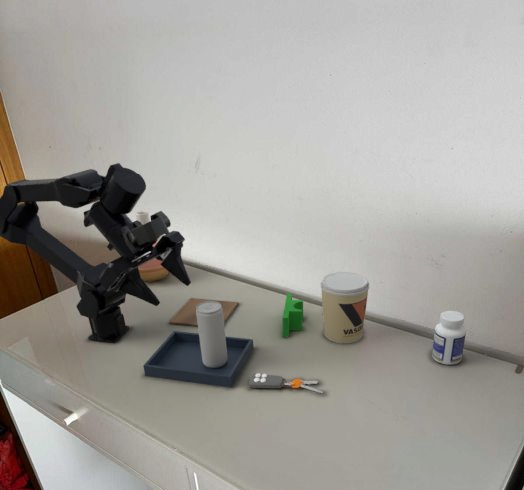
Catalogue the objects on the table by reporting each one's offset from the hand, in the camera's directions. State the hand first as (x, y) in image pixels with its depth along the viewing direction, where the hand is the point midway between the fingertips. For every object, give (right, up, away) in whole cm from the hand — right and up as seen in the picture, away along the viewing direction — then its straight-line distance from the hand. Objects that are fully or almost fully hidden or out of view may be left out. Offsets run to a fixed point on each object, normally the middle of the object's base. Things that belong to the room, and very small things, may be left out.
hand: (174, 294), depth 92 cm
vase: (-13, +8, +42) cm, 44 cm away
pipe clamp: (+23, -5, +15) cm, 28 cm away
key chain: (+20, -17, -4) cm, 27 cm away
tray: (+4, -13, +4) cm, 14 cm away
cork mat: (+3, -3, +22) cm, 22 cm away
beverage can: (+7, -13, +3) cm, 15 cm away
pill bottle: (+51, -12, +1) cm, 52 cm away
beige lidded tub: (+33, -7, +11) cm, 35 cm away
